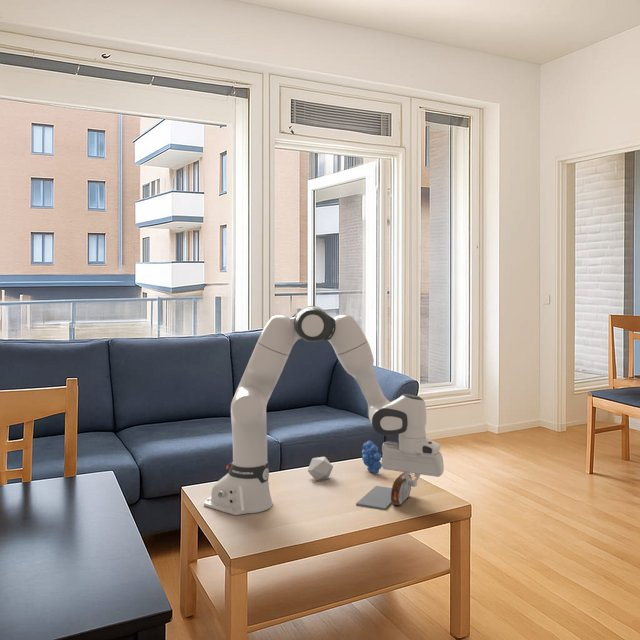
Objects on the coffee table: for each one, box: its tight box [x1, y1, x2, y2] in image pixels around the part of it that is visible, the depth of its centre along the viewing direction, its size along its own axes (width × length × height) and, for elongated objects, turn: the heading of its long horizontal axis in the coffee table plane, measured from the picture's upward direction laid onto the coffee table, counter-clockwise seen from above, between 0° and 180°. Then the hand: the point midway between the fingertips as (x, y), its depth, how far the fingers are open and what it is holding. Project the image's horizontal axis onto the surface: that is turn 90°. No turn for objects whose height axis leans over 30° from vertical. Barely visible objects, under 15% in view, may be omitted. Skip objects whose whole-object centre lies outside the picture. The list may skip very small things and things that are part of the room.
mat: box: [355, 485, 393, 511], centre depth 208 cm, size 10×19×1 cm, turn 155°
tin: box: [391, 472, 413, 506], centre depth 205 cm, size 15×3×8 cm, turn 155°
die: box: [307, 456, 334, 482], centre depth 229 cm, size 8×9×10 cm
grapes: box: [361, 440, 383, 475], centre depth 235 cm, size 12×7×12 cm, turn 29°
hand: (411, 485), depth 203 cm, fingers closed
